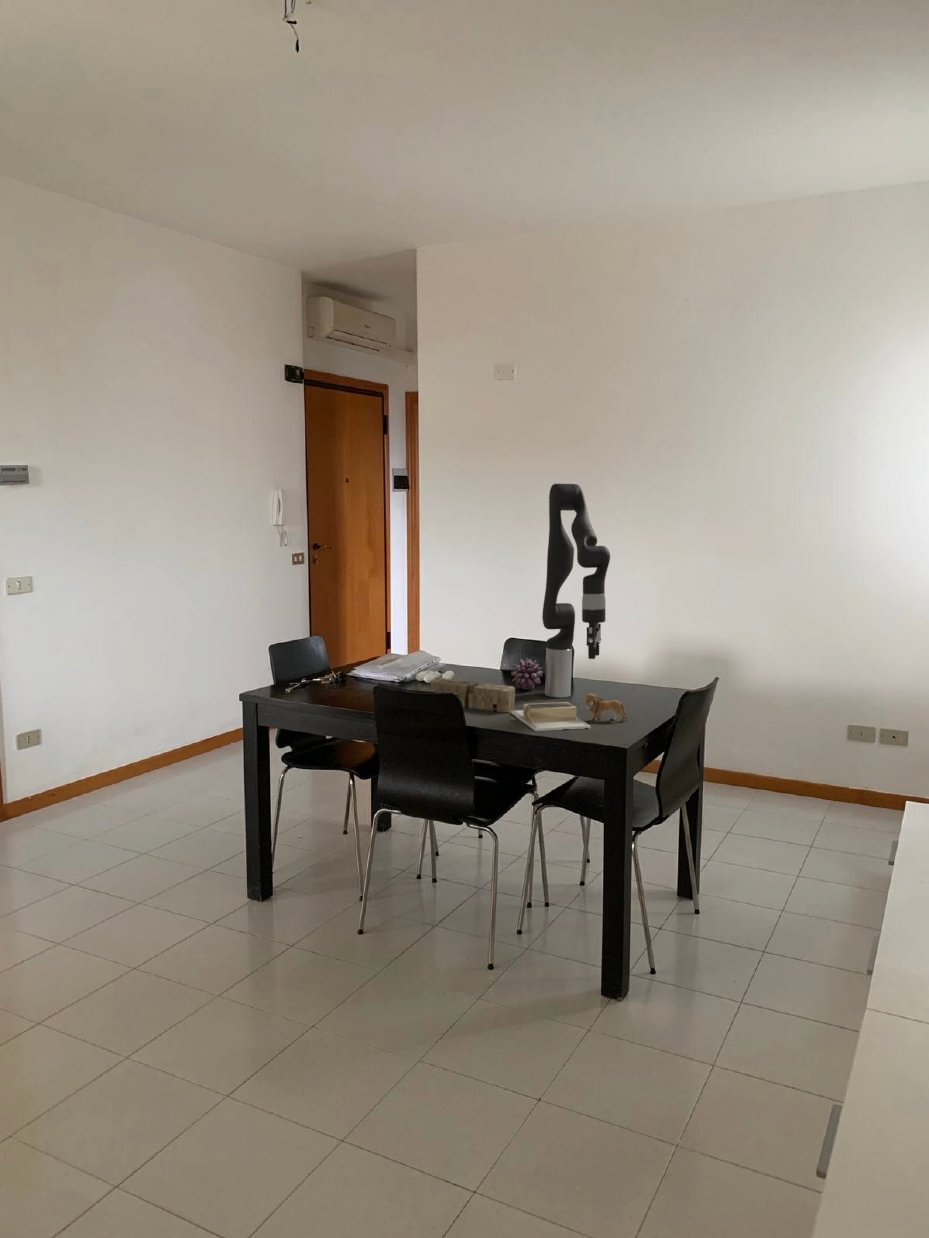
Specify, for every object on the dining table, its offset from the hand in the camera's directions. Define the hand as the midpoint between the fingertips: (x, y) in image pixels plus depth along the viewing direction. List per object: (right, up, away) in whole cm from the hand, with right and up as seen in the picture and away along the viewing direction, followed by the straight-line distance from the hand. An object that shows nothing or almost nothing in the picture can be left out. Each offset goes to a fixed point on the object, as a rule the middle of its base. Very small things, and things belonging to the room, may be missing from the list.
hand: (593, 657), depth 297 cm
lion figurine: (+3, -20, -6) cm, 21 cm away
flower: (-19, -14, +39) cm, 46 cm away
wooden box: (-15, -20, -7) cm, 26 cm away
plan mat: (-15, -20, -7) cm, 26 cm away
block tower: (-39, -18, +12) cm, 44 cm away
